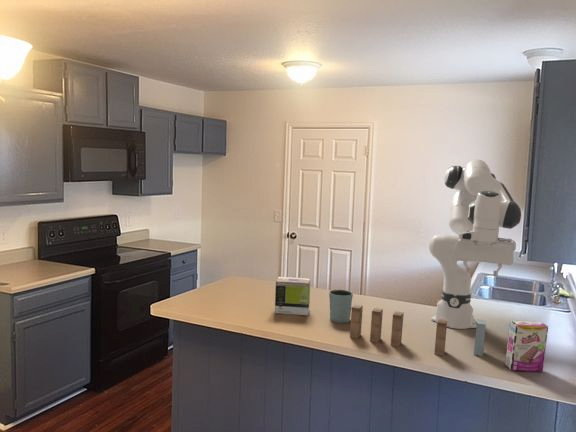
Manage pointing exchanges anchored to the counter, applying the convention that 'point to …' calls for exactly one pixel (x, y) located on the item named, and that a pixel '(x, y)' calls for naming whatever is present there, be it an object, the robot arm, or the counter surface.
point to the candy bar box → (526, 346)
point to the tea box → (292, 295)
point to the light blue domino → (479, 337)
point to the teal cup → (340, 305)
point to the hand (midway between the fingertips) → (481, 274)
